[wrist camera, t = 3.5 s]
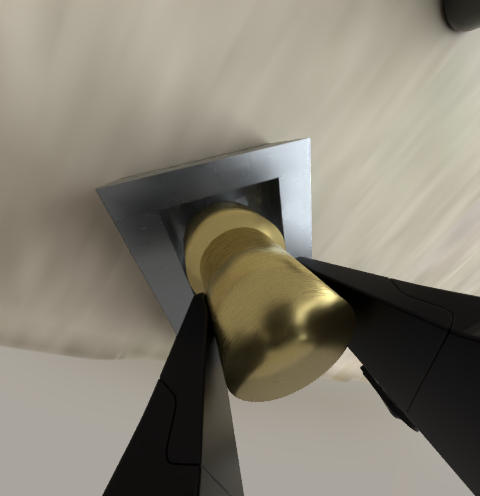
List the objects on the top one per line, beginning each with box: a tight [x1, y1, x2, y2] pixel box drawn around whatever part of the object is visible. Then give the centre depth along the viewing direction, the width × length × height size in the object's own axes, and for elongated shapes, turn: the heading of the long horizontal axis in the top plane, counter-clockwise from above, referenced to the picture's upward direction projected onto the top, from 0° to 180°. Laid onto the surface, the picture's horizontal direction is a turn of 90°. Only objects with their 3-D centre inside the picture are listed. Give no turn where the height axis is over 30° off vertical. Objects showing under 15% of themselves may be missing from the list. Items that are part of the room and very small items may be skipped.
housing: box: [96, 138, 312, 334], centre depth 15 cm, size 16×11×5 cm
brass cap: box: [183, 201, 356, 402], centre depth 9 cm, size 5×5×8 cm
